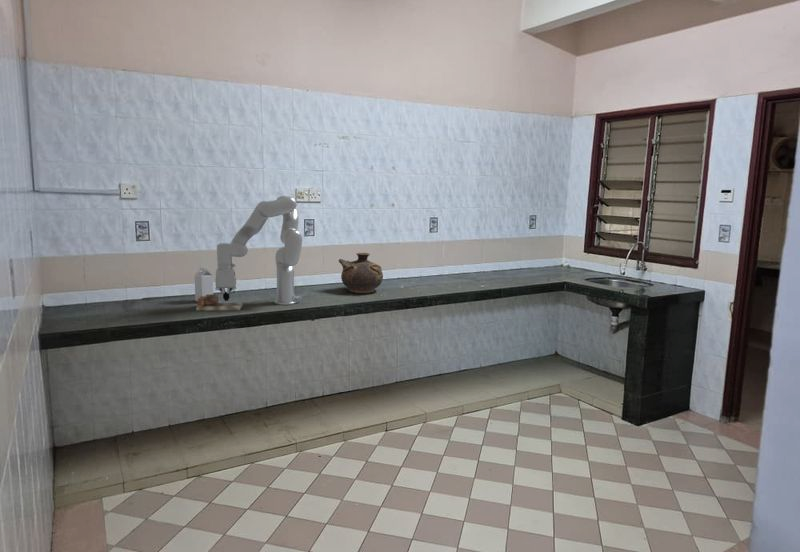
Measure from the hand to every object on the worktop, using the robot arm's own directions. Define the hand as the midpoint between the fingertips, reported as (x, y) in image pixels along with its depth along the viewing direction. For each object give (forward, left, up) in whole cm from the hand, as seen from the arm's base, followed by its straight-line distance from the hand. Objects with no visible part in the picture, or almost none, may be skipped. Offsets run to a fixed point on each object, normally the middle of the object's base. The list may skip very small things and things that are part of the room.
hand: (226, 300), depth 291 cm
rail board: (+3, 0, -4) cm, 5 cm away
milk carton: (+14, -17, -4) cm, 23 cm away
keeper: (+8, 0, -2) cm, 8 cm away
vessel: (-78, -46, -4) cm, 90 cm away
